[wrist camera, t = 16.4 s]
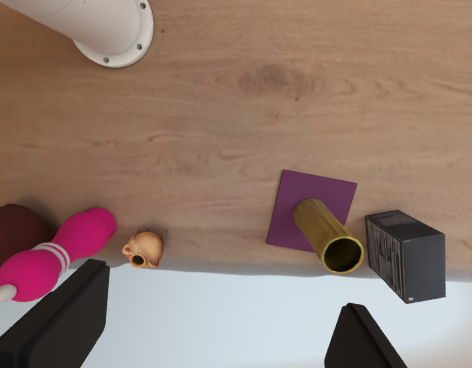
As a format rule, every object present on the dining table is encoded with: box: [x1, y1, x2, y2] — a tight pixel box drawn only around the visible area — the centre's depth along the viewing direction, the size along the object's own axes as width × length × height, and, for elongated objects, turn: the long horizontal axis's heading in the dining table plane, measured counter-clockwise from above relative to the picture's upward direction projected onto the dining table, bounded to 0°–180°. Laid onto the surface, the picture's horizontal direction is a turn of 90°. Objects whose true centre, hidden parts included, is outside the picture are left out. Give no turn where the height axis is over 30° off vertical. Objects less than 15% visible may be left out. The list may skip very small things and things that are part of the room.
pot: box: [122, 229, 167, 268], centre depth 43 cm, size 6×8×6 cm
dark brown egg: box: [0, 204, 52, 268], centre depth 42 cm, size 9×12×9 cm
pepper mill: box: [0, 208, 116, 302], centre depth 36 cm, size 7×7×20 cm
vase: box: [293, 199, 364, 274], centre depth 38 cm, size 6×6×14 cm
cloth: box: [266, 170, 357, 253], centre depth 45 cm, size 14×13×1 cm
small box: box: [365, 210, 446, 304], centre depth 41 cm, size 11×6×10 cm, turn 11°
